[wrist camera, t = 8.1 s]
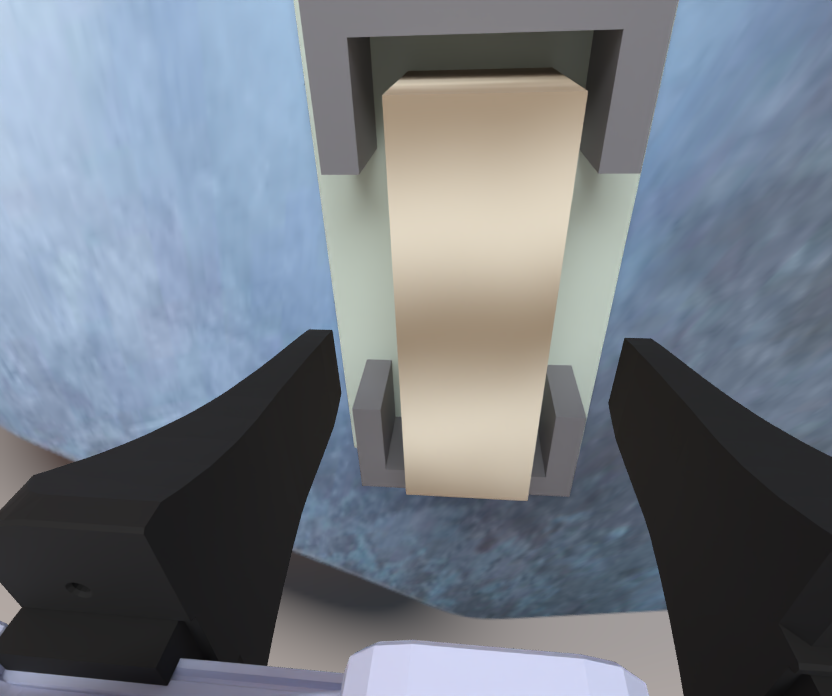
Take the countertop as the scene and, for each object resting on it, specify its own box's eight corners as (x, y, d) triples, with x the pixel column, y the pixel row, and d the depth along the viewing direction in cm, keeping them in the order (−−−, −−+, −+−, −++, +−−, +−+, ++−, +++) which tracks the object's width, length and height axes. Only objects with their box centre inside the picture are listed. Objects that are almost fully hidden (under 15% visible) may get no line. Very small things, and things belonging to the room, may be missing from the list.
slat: (515, 401, 20) (527, 500, 16) (418, 398, 21) (406, 494, 17) (552, 67, 14) (587, 91, 9) (407, 71, 14) (381, 94, 10)
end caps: (573, 441, 23) (591, 515, 19) (358, 432, 23) (340, 500, 20) (681, -72, 13) (756, -102, 9) (297, -53, 13) (240, -75, 10)
